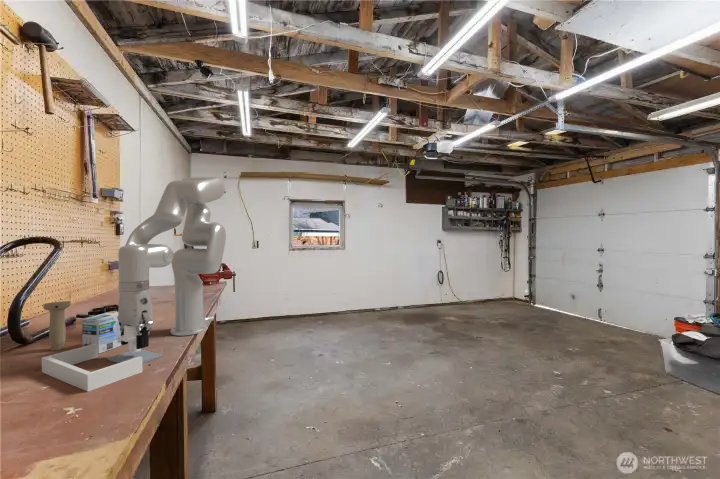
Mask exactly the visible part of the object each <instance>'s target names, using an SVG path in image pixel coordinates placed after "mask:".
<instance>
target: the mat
mask: <svg viewBox="0 0 720 479" xmlns="http://www.w3.org/2000/svg"><path fill="white" fill-rule="evenodd" d="M136 357H142V364H145V363H147V362H151V361H153V360H156V359H158V358H162V357H163V354H161V353H157V352H153V351H150V350H147V349H144V348H141V350H140V351H138V352H133V353H130V352H128V351H126V352H123V353H120V354H116V355H114V356H110V357H107V358H106V360H107V361H110V362H112V363H115V364H118V363H121V362H124V361H127V360H130V359H133V358H136Z"/></svg>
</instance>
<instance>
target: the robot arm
mask: <svg viewBox="0 0 720 479" xmlns="http://www.w3.org/2000/svg"><path fill="white" fill-rule="evenodd" d="M225 188H226V187H225V184H224V181H222V179H220V178H218V177H215V176H214V177H213V176H210V177H209V176H207V177H206V176H204V177H203V176H196V177H195V176H194V177H193V176H192V177H191V176H190V177H186V178H185V177H184V178H183V179H181V180H173V181H170V182H169V183H167V185H166V187H165V189H164V191H163V193H162V196H161V197H160V200H159V202H158V205H157V207H156V209H155V212H154V213H153V214H152V215H151V216H150V217H148V218H147V219H145V220H143V222H141V223H140V224H139V225H138V226H136V227H135V228H134V229H133V230H132V232H131V233H130V235H129V236H128V238H127V240H126V243H125V245H123V246H120V248H119V249H118V258H117V259H118V294H119V296H118V308H117V310H118V311H117V312H118V316H117V319H118V321H119V325H120V331H122V332H121V336H123V335H124V325H130V326H135V327H136V330H137V333H138V335H137V336H136V349H144V348H147V347H149V344H150V340H149V338H150V337H149V336H150V332H151V330H152V326H153V324H154V323H153V322H154V321H153V320H154V316H153V315H154V314H153V303H152V296H151V292H150V269H151V268H155V269H156V268H157V269H158V268H159V269H160V268H165V267H167V266H169V265H170V264H171V269H172V273H173V278H174V327H172V328H171V329H170V332H169V333H170V335H173V336H177V337H179V336H182V337H184V336H193V335H198V334H201V333H204V332H205V331H207V330H208V327H209V326H208V324H207V323H208V322H209V323H210V322H212V321H214V320H215V318H214V315H211V316H204V288H203V287H204V285H203V281H202V279H201V277H200V276H199V275H200V274H201V275H202V274H203V275H204V274H205V275H211V274H215V273H217V272H218V271H219V270H220V269H221V265H222V262H223V257H224V253H225V246H226V240H227V233H226V232H227V231H226V229H225V227H224V225H222V223H220V222H212V221H211V220H210V219H211V210H210V208H209V206H208V204H207V203H211V202H214V201H216V200H219V199H221V198H222V197H223V195H224V194H225ZM185 213H186V217H185V220H184V225H183V230H182V235H181V239H182V240H181V242H183V243H184V244H185V246H189V247H191V248H181V249H177V251H175V252H174V251H173V249H172V247H170V246H168V245H167V244H160V243H159V244H157V243H150V242H151V240H152V239H154V238H155V237H156V236H158V235H160V234H162V233H164V232H167V231H170V230H172V229H174V228H177V227H178V226H180V225H181V224H182V222H183V219H184V216H185ZM210 221H211V222H210ZM192 247H203V248H192ZM204 247H206V248H204ZM142 322H143V324H139V323H142ZM142 326H144V327H143V328H142V330H141V328H140V327H142ZM121 345H122V346H125V345H128V342H125V341H121Z"/></svg>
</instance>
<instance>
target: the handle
mask: <svg viewBox="0 0 720 479" xmlns="http://www.w3.org/2000/svg"><path fill="white" fill-rule="evenodd" d="M70 306H71V301H69V300H67V301H66V300H65V301H54V302H47V303H44V304H42V307H43V310H46V311H49V329H48V338H49V344H50V351H51V352H53V351H61V350H63V349H65V343H66V338H67V329H66V319H65V318H66V317H65V309H67V308H69V307H70Z"/></svg>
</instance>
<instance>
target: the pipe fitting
mask: <svg viewBox="0 0 720 479" xmlns="http://www.w3.org/2000/svg"><path fill="white" fill-rule="evenodd" d="M139 324H143V322H142V323H139ZM143 327H144V326H142V327H140V328H141V330H142V328H143ZM137 335H138V333H137V330H136V327H135V326H130V325H124V335H123V336H120V340H121V341H125V342H128V344H127V346H128V347H127V352H130V353H133V352H138V351H140V350H141V349H142V348H141V349H136V336H137Z"/></svg>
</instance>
